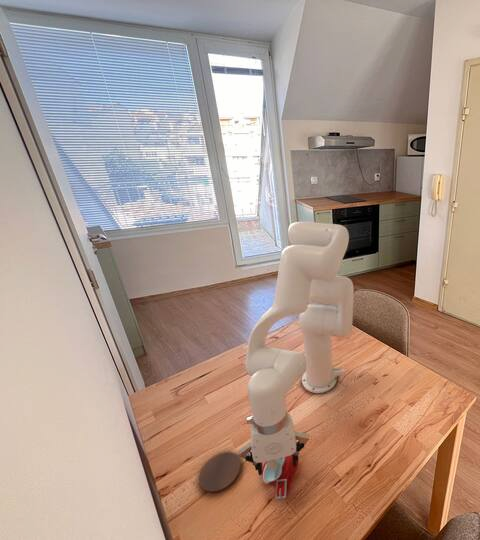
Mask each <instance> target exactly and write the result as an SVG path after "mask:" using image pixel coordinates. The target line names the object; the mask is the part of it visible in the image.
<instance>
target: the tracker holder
mask: <svg viewBox="0 0 480 540" xmlns="http://www.w3.org/2000/svg"><path fill="white" fill-rule="evenodd" d="M280 459H282V458H280ZM299 459H300V458H299V457H298V460H297V461H296V466H295V467H294V466H293V458H292V455H290V456H286V457H285V462H284V464H283V466H282V473H281V475H280V477H279V478H278V479H276V480H275V481H272V482H270V483H266V484H267V485H275V486H276V487H275V500H279V499H286V498H287V496H288V495H289V492H290V489H291V486H292V482H293V481H294V478H295V474H296V471H297V468H298V467H299V461H300V460H299ZM266 464H267V461H266V462H264V464H263V465H262V474H261V479H262V480H263V471H264V468H265V466H266Z"/></svg>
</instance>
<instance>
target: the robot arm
mask: <svg viewBox="0 0 480 540" xmlns="http://www.w3.org/2000/svg"><path fill="white" fill-rule="evenodd" d="M287 236H288V240H289V242H290V245H288V246H286V247H285V248H284V249H283V250H282V252H281V254H280V260H279V265H278V266H279V267H278V272H277V277H276V284H275V289H274V297H273V303H272V305H271V307H270V308H269V309H268V310H267V311H266V312H265V313H263V314H262V315H261V316H260V318H259V319H258V320H257V321H256V323H255V324H254V326H253V328H252V330H251V331H250V334H249V337H248V340H247V347H246V352H245V358H244V359H245V362H244V368H245V371H246V373H247V375H248V376H249V380H248V383H247V393H248V398H249V404H250V410H251V416H249V417H246V425H251V427H250V442H248V443H246V445H244V446H243V447H241V448H240V449H239V450H238V457H239V458H242V459H244V460H245V462H249V463H252V466H254V469H255V471H257V472H258V473H257V474H258V476H262V469H263V463H265V462H266V461H270V460H274V459H278V458H282V457H286V456H290V455H292V458H293V466H294V467H295V466H296V461H297V460H298V458H299V456H300V452H301V451H302V450H303V449H304V448H305V445H306V444H307V443H308V442H309V441H310V435H309V434H308V433H303V432H299V431H296V429H295V424H294V422H293V418H292V416H291V414H290V413H289V411H288V407H287V397H286V395H287V393H288V392H289V391H290V390H291V389H292V388H293V387H294V386H295V385H296V384H297V383H298V382H299V380H300V379H301V383H302V386H303V388H304V389H305V390H306V391H308V392H310V393H313V394H322V393H326V392H329V391H330V390H331V389H333V388H334V386H336V384H337V379H338V378H337V377H339V376H340V377H341V376H345V375H346V370H345V369H341V366H340V365H338V366H333V342H332V337H335V338H345V337H348V336H349V335H350V334H351V333H352V330H353V322H354V321H353V319H354V298H355V297H354V296H355V295H354V292H355V291H354V284H353V281H352V279H351V278H350V277H347V276H343V275H337V274H338V272H339V270H340V267H341V265H342V262H343V260H344V257H345V255H346V253H347V249H348V247H349V240H350V234H349V231H348V229H347V227H346V226H344V225H342V224H335V223H325V222H316V221H296V222H293V223H291V224H289V226H288V229H287ZM310 303H312V304H310ZM295 315H296V316H297V315H299V316H298V322H299V327H300V329H301V333H302V338H303V339H302V340H303V351H304V352H303V353H302V352H300V351H295V350H289V349H283V348H276V347H271V346H266V341H267V336H268V334H269V331H270V330H271V328H272V327H273V326H274V325H275V324H276V323H277V322H279V321H280V320H282V319H285V318H287V317H291V316H295Z"/></svg>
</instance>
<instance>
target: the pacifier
mask: <svg viewBox="0 0 480 540" xmlns="http://www.w3.org/2000/svg"><path fill="white" fill-rule="evenodd" d="M284 462H285V457H282V459H280V458H278V459H274V460H270V461H267V464H266V466H265V468H264V471H263V479H262V481H263V483H264V484H267V483H270V482H272V481H275V480H276V479H278V478H279V477H280V475H281V473H282V466H283V464H284Z"/></svg>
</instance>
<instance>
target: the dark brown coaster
mask: <svg viewBox="0 0 480 540" xmlns="http://www.w3.org/2000/svg"><path fill="white" fill-rule="evenodd" d="M241 469H242V463H241V459H240V456H239V455H237V454H236V453H234V452H231V451H227V452H221V453H218V454H216V455H214V456H213V457H211V458H210V459H208V460H207V462H206V463H205V464H204V465H203V467H202V469H201V471H200V472H199V477H198V482H199V485H200V487H201V489H202V490H203V491H204V492H206V493H209V494H217V493H220V492H223V491H225V490H227V489H228V488H230V487H231V486H232V485H233V484H234V483H235V482H236V480H237V479H238V477H239V475H240V473H241Z"/></svg>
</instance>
